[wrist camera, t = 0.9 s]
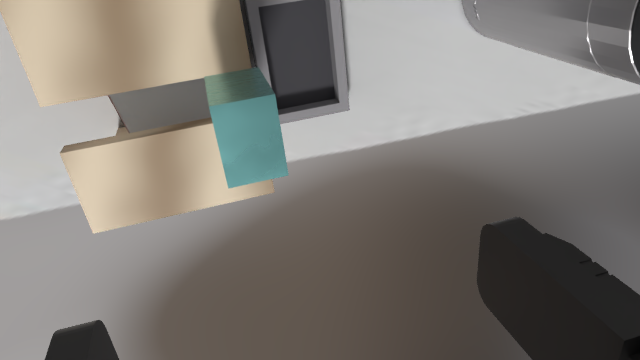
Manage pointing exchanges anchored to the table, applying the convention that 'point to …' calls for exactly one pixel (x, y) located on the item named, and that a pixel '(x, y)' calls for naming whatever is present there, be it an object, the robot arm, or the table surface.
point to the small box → (162, 105)
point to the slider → (246, 126)
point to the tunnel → (127, 75)
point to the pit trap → (300, 55)
